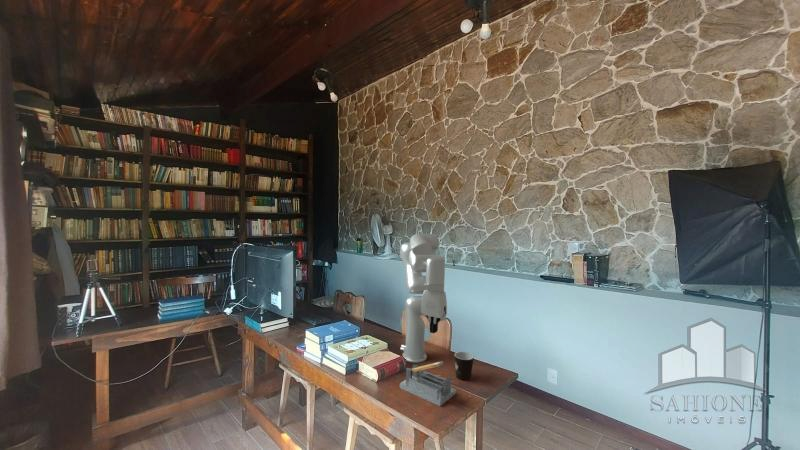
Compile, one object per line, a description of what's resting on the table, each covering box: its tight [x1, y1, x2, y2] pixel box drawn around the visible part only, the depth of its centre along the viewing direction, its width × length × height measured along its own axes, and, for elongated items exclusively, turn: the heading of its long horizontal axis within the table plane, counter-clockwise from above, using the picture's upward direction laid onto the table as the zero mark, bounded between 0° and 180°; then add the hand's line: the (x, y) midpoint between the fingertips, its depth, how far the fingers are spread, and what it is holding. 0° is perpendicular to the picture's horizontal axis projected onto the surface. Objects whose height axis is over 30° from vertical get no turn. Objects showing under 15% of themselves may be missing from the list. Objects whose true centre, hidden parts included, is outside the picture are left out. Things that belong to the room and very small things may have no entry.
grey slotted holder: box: [399, 363, 457, 407], centre depth 138 cm, size 20×12×8 cm, turn 51°
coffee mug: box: [454, 351, 475, 382], centre depth 152 cm, size 12×9×10 cm
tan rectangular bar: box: [411, 360, 444, 374], centre depth 139 cm, size 17×3×2 cm, turn 51°
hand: (433, 332), depth 136 cm, fingers closed
